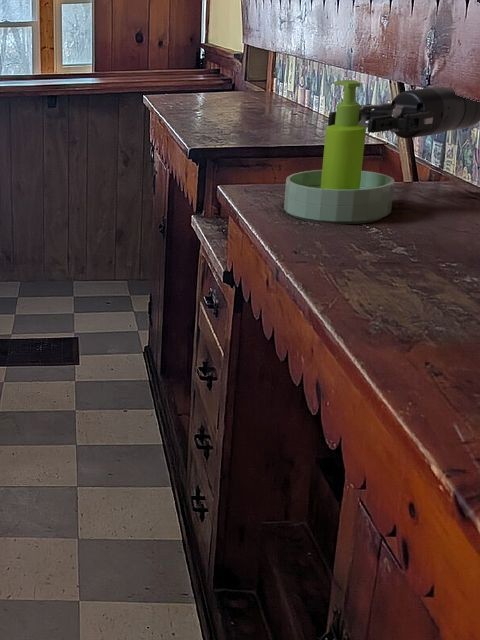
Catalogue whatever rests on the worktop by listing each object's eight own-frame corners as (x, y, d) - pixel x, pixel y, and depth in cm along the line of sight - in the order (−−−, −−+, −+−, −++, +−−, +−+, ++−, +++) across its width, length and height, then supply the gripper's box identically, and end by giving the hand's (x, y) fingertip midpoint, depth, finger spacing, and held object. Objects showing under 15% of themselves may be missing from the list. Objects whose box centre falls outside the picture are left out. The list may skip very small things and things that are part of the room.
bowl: (402, 207, 142) (406, 173, 140) (373, 230, 130) (377, 193, 128) (303, 198, 151) (306, 166, 149) (268, 219, 139) (271, 185, 137)
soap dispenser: (345, 203, 144) (358, 77, 136) (363, 212, 137) (378, 81, 130) (310, 205, 144) (321, 79, 136) (327, 215, 137) (339, 84, 129)
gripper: (395, 85, 146) (319, 94, 140) (467, 91, 133) (387, 101, 128) (389, 130, 148) (315, 141, 143) (459, 140, 136) (381, 152, 131)
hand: (349, 122), depth 135 cm, fingers open, 8 cm apart
